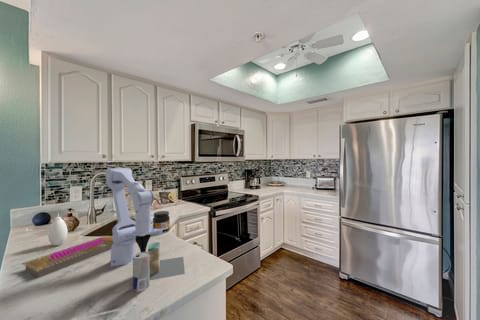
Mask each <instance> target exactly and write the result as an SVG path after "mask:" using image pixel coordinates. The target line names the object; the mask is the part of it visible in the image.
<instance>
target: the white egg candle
mask: <svg viewBox="0 0 480 320" xmlns="http://www.w3.org/2000/svg"><path fill="white" fill-rule="evenodd" d="M68 232H69V231H68V226H67V224H66V222H65V220H64V219H62V216H60V214H59V212H57V217H55V218H54V220H53V221H52V222H51V225H50V226H49V228H48V235H47V238H48V241H49V242H50V245H53V246H61V245H62V244H63V243H64V242H65V241H66V240H67V237H68V234H69V233H68Z"/></svg>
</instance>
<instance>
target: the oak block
mask: <svg viewBox="0 0 480 320" xmlns="http://www.w3.org/2000/svg"><path fill="white" fill-rule="evenodd" d="M160 244H161V243H160V241H159V242H158V241H157V242H151V243H149V244H148V247H147V252H148V253H149V264H150V274H152V273H158V272H159V267H160V260H161V258H160V257H161V256H160V255H161V253H160V252H161V250H160V249H161V248H160V247H161V245H160Z"/></svg>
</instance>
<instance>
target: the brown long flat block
mask: <svg viewBox="0 0 480 320" xmlns="http://www.w3.org/2000/svg"><path fill="white" fill-rule="evenodd" d="M113 244H114V242H113V238H112V236H111V235H105V236H101V237H98V238H95V239H93V240H89V241H86V242H83V243H80V244H77V245H74V246H71V247H68V248H65V249H62V250H59V251H55V252H53V253H50V254H46V255H44V256H41V257H38V258H36V259H31V260H29V261H25V262H23V263H22V265H23V266H25V271H26V272H28V273H30V274H32V275H34V276H35V277H37V278H42V277H45V276H47V275H50V274H52V273H55V272H58V271H59V270H62V269H64V268H67V267H70V266H72V265H75V264H78V263H80V262H82V261H85V260H87V259H90V258H93V257H95V256H98V255H100V254H102V253H105V252H107V251H111V247H112V245H113Z"/></svg>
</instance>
